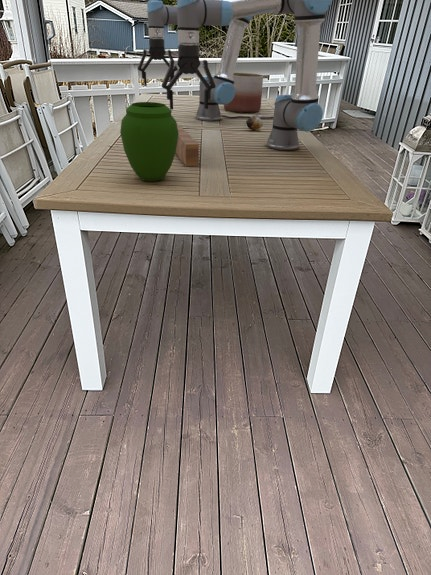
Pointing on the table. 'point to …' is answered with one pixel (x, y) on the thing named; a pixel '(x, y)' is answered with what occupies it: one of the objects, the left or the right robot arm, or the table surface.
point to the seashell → (254, 123)
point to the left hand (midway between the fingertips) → (158, 86)
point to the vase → (149, 139)
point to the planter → (246, 93)
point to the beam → (187, 148)
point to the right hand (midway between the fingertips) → (188, 108)
